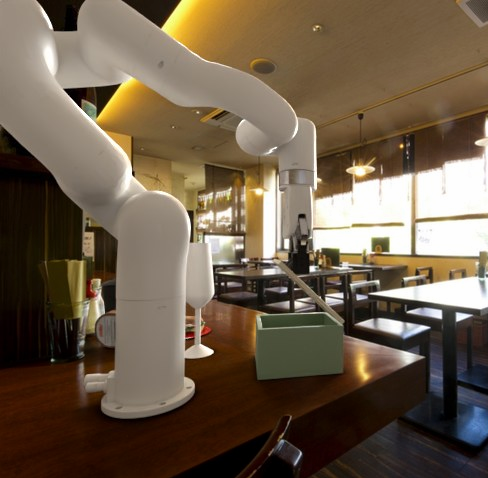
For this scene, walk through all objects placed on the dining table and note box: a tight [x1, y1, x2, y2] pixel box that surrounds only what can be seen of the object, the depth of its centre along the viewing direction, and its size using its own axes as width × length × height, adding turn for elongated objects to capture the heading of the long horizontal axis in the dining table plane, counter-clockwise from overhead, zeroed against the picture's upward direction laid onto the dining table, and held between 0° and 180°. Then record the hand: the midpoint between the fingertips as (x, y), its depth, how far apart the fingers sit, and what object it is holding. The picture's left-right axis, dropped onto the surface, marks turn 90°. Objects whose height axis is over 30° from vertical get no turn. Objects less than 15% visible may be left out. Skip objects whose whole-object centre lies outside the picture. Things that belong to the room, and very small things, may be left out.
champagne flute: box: [185, 242, 215, 359], centre depth 72 cm, size 7×7×24 cm
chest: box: [254, 311, 344, 381], centre depth 65 cm, size 16×13×9 cm
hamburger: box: [185, 315, 212, 339], centre depth 88 cm, size 14×14×6 cm
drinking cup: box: [100, 277, 116, 314], centre depth 85 cm, size 8×8×20 cm
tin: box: [94, 310, 116, 349], centre depth 75 cm, size 15×3×8 cm, turn 84°
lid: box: [272, 251, 345, 325], centre depth 66 cm, size 16×13×5 cm
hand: (298, 271), depth 66 cm, fingers closed on lid, 6 cm apart
